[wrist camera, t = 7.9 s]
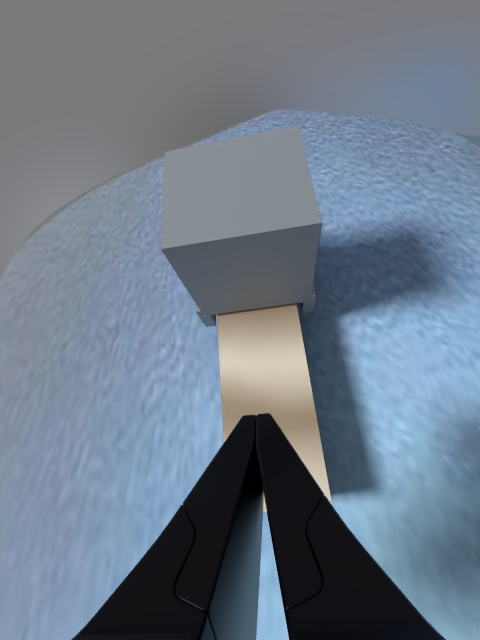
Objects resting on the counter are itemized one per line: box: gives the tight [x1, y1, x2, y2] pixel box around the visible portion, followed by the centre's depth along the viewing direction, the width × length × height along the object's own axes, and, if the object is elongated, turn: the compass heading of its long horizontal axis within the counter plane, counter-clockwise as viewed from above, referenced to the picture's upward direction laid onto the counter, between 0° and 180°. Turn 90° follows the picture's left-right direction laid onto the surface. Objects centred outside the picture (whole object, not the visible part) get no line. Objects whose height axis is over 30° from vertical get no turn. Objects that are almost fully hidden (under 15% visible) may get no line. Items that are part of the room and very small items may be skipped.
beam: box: [217, 303, 332, 512], centre depth 19 cm, size 20×5×3 cm, turn 5°
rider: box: [161, 125, 322, 327], centre depth 17 cm, size 6×7×8 cm
